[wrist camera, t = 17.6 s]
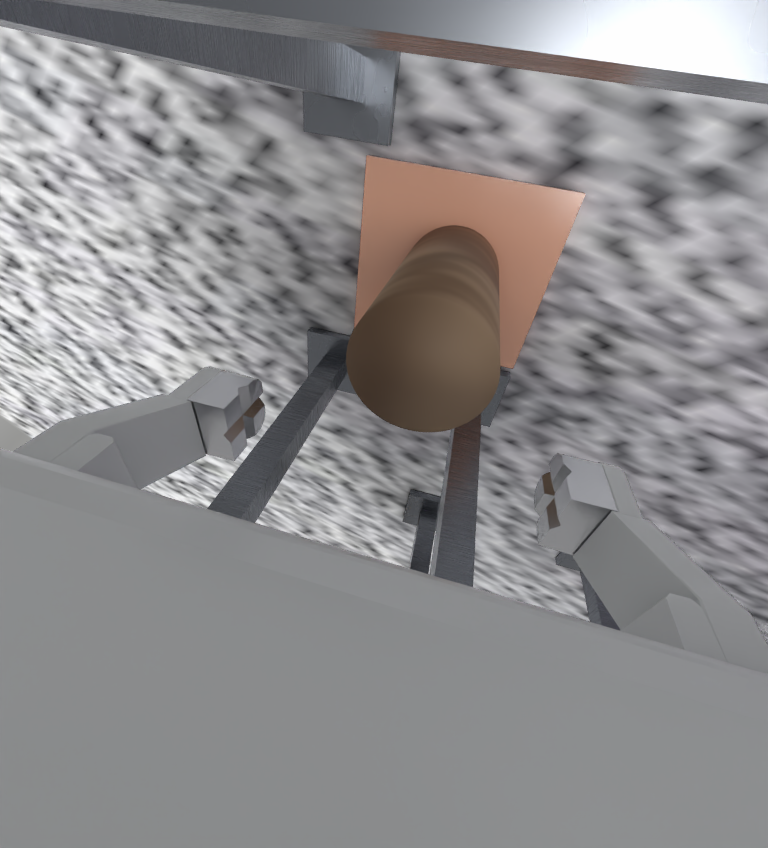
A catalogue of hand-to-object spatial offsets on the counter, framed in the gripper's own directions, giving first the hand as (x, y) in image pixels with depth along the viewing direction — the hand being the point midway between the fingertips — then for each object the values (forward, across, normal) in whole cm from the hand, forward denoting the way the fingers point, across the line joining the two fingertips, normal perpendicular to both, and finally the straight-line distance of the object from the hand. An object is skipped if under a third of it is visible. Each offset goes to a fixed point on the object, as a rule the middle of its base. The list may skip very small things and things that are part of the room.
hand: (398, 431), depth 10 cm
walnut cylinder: (+13, 0, -1) cm, 13 cm away
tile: (+13, 0, -1) cm, 13 cm away
